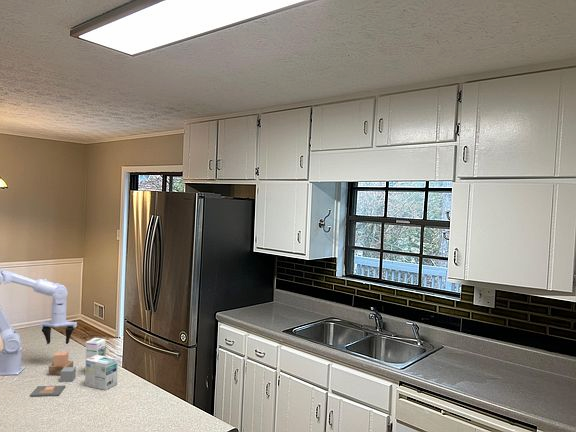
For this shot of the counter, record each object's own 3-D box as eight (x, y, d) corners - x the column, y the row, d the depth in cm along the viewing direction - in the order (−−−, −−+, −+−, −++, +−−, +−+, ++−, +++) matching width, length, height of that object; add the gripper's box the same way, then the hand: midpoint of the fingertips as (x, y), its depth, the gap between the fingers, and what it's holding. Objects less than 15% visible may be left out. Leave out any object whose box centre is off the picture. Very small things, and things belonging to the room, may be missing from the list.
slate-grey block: (60, 382, 178) (60, 371, 177) (63, 378, 182) (64, 367, 182) (72, 382, 178) (72, 371, 178) (75, 377, 183) (75, 367, 183)
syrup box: (97, 377, 184) (98, 342, 184) (84, 375, 186) (85, 341, 185) (105, 371, 190) (106, 338, 190) (93, 370, 191) (94, 337, 191)
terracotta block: (53, 366, 184) (53, 355, 184) (56, 362, 189) (56, 351, 189) (65, 365, 185) (65, 355, 185) (68, 361, 190) (68, 351, 190)
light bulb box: (117, 384, 178) (118, 358, 178) (105, 390, 172) (106, 363, 172) (96, 379, 182) (97, 353, 182) (83, 385, 176) (84, 359, 175)
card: (29, 396, 164) (29, 394, 164) (37, 387, 172) (37, 385, 172) (58, 395, 166) (58, 394, 166) (65, 386, 174) (65, 385, 174)
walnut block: (48, 376, 183) (48, 366, 183) (56, 369, 190) (56, 360, 190) (65, 376, 184) (66, 367, 184) (73, 370, 191) (73, 361, 191)
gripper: (37, 315, 188) (36, 346, 189) (74, 315, 191) (73, 346, 191) (43, 310, 195) (42, 341, 196) (78, 310, 198) (77, 340, 198)
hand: (58, 343), depth 194 cm, fingers open, 7 cm apart
